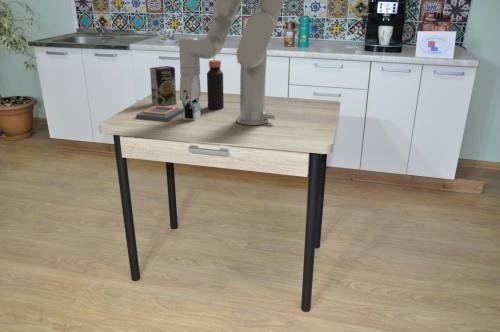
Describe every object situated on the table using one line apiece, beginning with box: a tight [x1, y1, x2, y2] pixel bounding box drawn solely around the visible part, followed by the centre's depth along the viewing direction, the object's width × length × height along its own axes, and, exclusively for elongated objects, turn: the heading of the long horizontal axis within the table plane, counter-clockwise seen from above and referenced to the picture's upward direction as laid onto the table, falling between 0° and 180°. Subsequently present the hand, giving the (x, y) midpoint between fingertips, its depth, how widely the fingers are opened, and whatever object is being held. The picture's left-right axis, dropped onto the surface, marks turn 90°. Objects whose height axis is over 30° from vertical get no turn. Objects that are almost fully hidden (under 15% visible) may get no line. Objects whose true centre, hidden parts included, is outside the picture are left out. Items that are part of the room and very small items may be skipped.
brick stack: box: [182, 102, 201, 121], centre depth 186 cm, size 5×5×6 cm
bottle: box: [206, 59, 225, 111], centre depth 199 cm, size 7×7×20 cm
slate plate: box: [135, 105, 183, 122], centre depth 191 cm, size 14×14×2 cm
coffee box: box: [149, 65, 177, 107], centre depth 205 cm, size 9×6×16 cm
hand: (192, 115), depth 187 cm, fingers closed on brick stack, 5 cm apart
